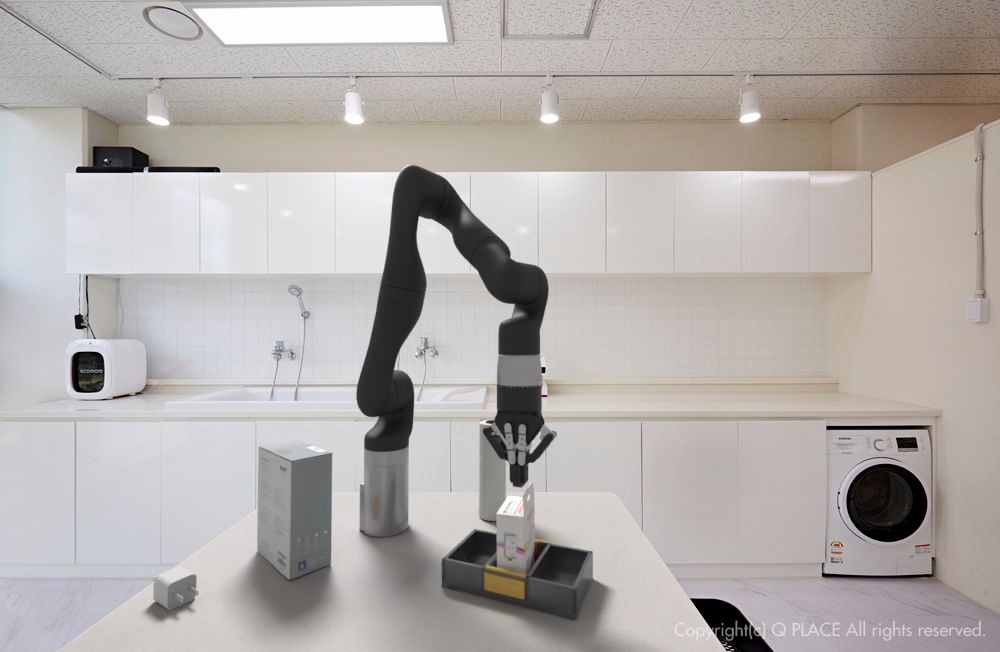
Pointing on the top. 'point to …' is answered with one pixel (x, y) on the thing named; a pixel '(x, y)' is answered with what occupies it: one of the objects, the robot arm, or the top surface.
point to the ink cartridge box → (516, 532)
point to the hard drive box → (294, 507)
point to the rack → (521, 575)
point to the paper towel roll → (490, 476)
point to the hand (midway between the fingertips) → (519, 485)
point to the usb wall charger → (175, 587)
